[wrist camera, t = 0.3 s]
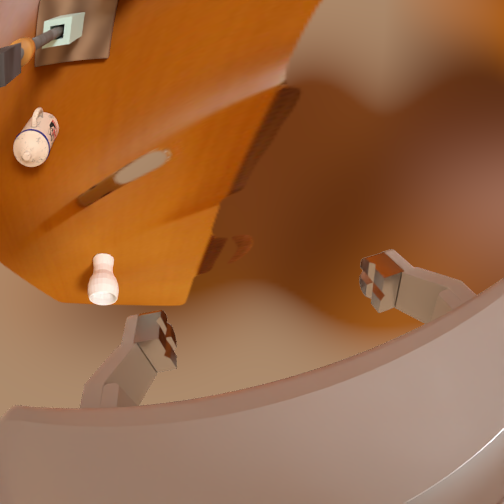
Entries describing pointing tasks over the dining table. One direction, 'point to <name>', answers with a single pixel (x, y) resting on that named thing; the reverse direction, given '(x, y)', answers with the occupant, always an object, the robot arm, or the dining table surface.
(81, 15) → the marker sleeve
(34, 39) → the post stand
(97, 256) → the cup
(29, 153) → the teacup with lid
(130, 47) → the dining table surface
